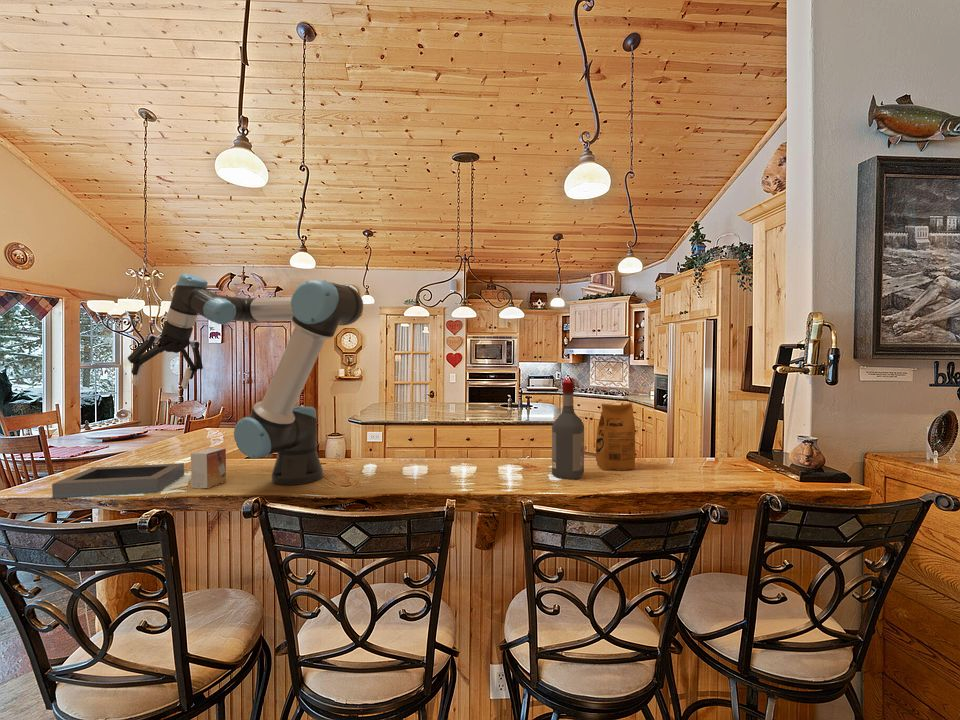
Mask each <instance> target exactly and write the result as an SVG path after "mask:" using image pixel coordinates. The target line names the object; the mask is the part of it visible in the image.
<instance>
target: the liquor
mask: <svg viewBox="0 0 960 720" xmlns="http://www.w3.org/2000/svg"><path fill="white" fill-rule="evenodd" d="M574 393H575V382H572V381H570V382H569V381H565V382H562V409H561V413H560V414H559V416H558V417H557V418H556V419H555V420H554V421H553V423H552V426H551V474H552V476H553V477H554V478H556V479H563V480H571V481H573V480H574V481H575V480H579V479H581V478H582V477H583V475H584V473H585V425H584V423H583V421H582V419H580V417H579V416H578V414H577V413H575V409H574Z"/></svg>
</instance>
